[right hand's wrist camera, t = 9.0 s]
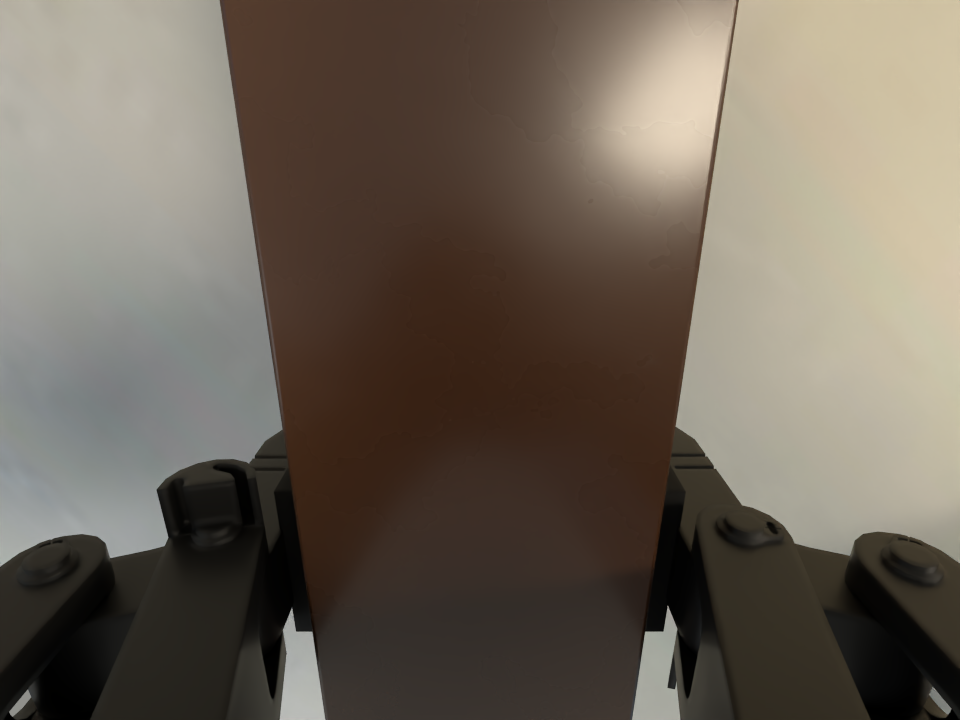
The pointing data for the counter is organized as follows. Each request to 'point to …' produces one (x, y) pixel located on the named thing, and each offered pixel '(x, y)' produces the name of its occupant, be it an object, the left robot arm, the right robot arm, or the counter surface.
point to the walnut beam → (478, 329)
